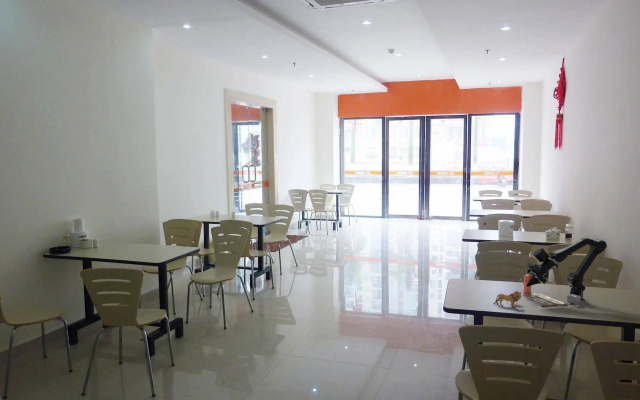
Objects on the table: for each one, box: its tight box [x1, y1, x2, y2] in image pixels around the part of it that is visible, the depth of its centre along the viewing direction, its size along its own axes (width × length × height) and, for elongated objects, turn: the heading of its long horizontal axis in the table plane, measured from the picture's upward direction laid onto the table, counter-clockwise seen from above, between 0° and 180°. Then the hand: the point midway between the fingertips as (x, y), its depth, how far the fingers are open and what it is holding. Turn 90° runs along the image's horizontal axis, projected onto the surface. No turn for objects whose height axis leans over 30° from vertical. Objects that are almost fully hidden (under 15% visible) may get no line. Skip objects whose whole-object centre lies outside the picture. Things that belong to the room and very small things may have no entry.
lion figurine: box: [492, 290, 522, 308], centre depth 270 cm, size 15×5×9 cm, turn 76°
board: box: [521, 292, 569, 309], centre depth 280 cm, size 16×23×1 cm
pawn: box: [522, 273, 533, 297], centre depth 287 cm, size 5×5×13 cm
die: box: [566, 294, 582, 307], centre depth 275 cm, size 5×5×5 cm
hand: (525, 285), depth 287 cm, fingers closed on pawn, 4 cm apart
